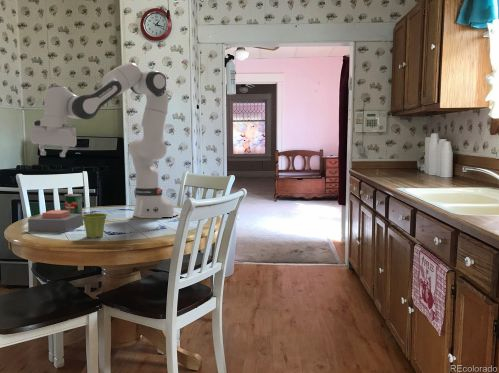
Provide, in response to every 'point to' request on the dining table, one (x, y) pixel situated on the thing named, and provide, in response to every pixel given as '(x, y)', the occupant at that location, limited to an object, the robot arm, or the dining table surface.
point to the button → (56, 214)
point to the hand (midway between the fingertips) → (52, 156)
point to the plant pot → (94, 224)
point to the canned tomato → (73, 203)
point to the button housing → (55, 223)
